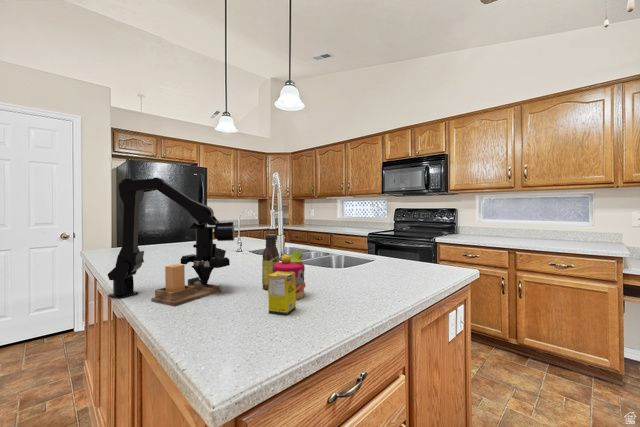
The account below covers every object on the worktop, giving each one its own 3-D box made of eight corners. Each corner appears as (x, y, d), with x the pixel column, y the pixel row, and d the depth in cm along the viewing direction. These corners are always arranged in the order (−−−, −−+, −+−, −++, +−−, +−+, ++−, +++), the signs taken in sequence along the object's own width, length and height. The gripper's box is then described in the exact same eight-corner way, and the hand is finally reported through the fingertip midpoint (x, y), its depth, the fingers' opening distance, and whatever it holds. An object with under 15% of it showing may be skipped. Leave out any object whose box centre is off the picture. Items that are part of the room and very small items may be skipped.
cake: (292, 303, 94) (292, 255, 94) (266, 298, 100) (266, 252, 100) (311, 295, 103) (310, 251, 103) (286, 290, 109) (286, 249, 108)
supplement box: (296, 308, 89) (295, 272, 89) (287, 315, 83) (287, 276, 83) (277, 306, 91) (277, 270, 91) (268, 313, 85) (267, 274, 85)
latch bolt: (193, 287, 109) (193, 279, 109) (198, 285, 112) (198, 278, 111) (200, 288, 108) (200, 280, 108) (206, 286, 110) (206, 279, 110)
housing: (151, 301, 97) (151, 288, 97) (198, 287, 113) (198, 276, 113) (175, 306, 92) (175, 293, 92) (220, 291, 108) (220, 280, 108)
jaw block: (165, 297, 98) (165, 266, 98) (177, 293, 102) (177, 264, 102) (173, 298, 96) (172, 267, 96) (184, 295, 100) (184, 264, 100)
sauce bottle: (275, 290, 108) (275, 235, 108) (259, 289, 110) (259, 235, 109) (281, 286, 115) (281, 233, 114) (266, 285, 116) (265, 233, 116)
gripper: (240, 240, 111) (240, 282, 111) (203, 238, 119) (204, 277, 120) (217, 243, 101) (217, 290, 101) (179, 241, 109) (179, 283, 110)
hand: (205, 284), depth 108 cm, fingers closed
